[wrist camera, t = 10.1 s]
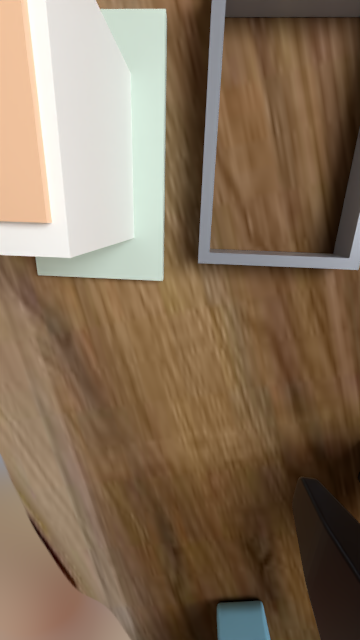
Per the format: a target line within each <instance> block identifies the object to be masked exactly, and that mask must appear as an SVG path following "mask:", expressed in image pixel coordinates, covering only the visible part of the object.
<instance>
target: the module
mask: <svg viewBox="0 0 360 640" xmlns="http://www.w3.org/2000/svg"><path fill="white" fill-rule="evenodd" d="M133 238H134V205H133V157H132V109H131V73H130V71H129V69H128V67H127V65H126V62H125V60H124V58H123V56H122V54H121V52H120V50H119V48H118V46H117V44H116V42H115V40H114V37H113V35H112V33H111V31H110V29H109V27H108V25H107V23H106V21H105V19H104V17H103V15H102V13H101V10H100V8H99V6H98V4H97V2H96V0H0V255H12V256H36V257H59V258H72V257H75V256H78V255H81V254H85V253H88V252H91V251H94V250H97V249H101V248H104V247H107V246H110V245H113V244H117V243H120V242H123V241H126V240H129V239H133Z"/></svg>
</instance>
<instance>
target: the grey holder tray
mask: <svg viewBox="0 0 360 640" xmlns="http://www.w3.org/2000/svg"><path fill="white" fill-rule="evenodd" d="M225 17H360V0H212V5H211V24H210V43H209V62H208V81H207V100H206V119H205V138H204V157H203V176H202V195H201V214H200V232H199V251H198V263H207V264H231V265H255V266H278V267H302V268H325V269H349V270H358V269H359V265H360V128H359V132H358V137H357V142H356V147H355V152H354V156H353V161H352V166H351V171H350V176H349V180H348V185H347V190H346V195H345V200H344V204H343V209H342V214H341V219H340V224H339V228H338V233H337V238H336V243H335V248H334V252H333V254H326V253H300V252H275V251H250V250H225V249H210V236H211V221H212V205H213V190H214V175H215V159H216V144H217V129H218V114H219V98H220V83H221V68H222V53H223V37H224V22H225Z"/></svg>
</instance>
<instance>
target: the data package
mask: <svg viewBox="0 0 360 640" xmlns="http://www.w3.org/2000/svg"><path fill="white" fill-rule="evenodd" d="M217 632H218V640H270V635H269V631H268V626H267V621H266V617H265V612H264V607H263V603H262V602H261V601H244V602H225V603H219V604H218V605H217Z"/></svg>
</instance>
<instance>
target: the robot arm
mask: <svg viewBox="0 0 360 640" xmlns="http://www.w3.org/2000/svg"><path fill="white" fill-rule="evenodd" d="M358 480H359V482H360V472H359V475H358ZM292 507H293V514H294V520H295V526H296V531H297V537H298V543H299V548H300V554H301V560H302V565H303V571H304V576H305V581H306V585H307V589H308V593H309V597H310V601H311V605H312V608H313V612H314V616H315V619H316V623H317V627H318V630H319V634H320V638H321V640H360V523H359V522H358V521H357V520H356V519H355V518H354V517H353V516H352V515H351V514H350V513H349V512H348V511H347V510H346V509H345V508H344V507H343V506H342V505H341V504H340V502H339V501H338V500H337V499H336V498H335V497H334V496H333V495H332V494H331V493H330V492H329V491H328V490H327V489H326V488H325V487H324V486H323V485H322V484H321V483H320V482H319V481H318V480H317V479H315V478H310V477H299V478H298V480H297V484H296V488H295V492H294V496H293V501H292Z"/></svg>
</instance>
